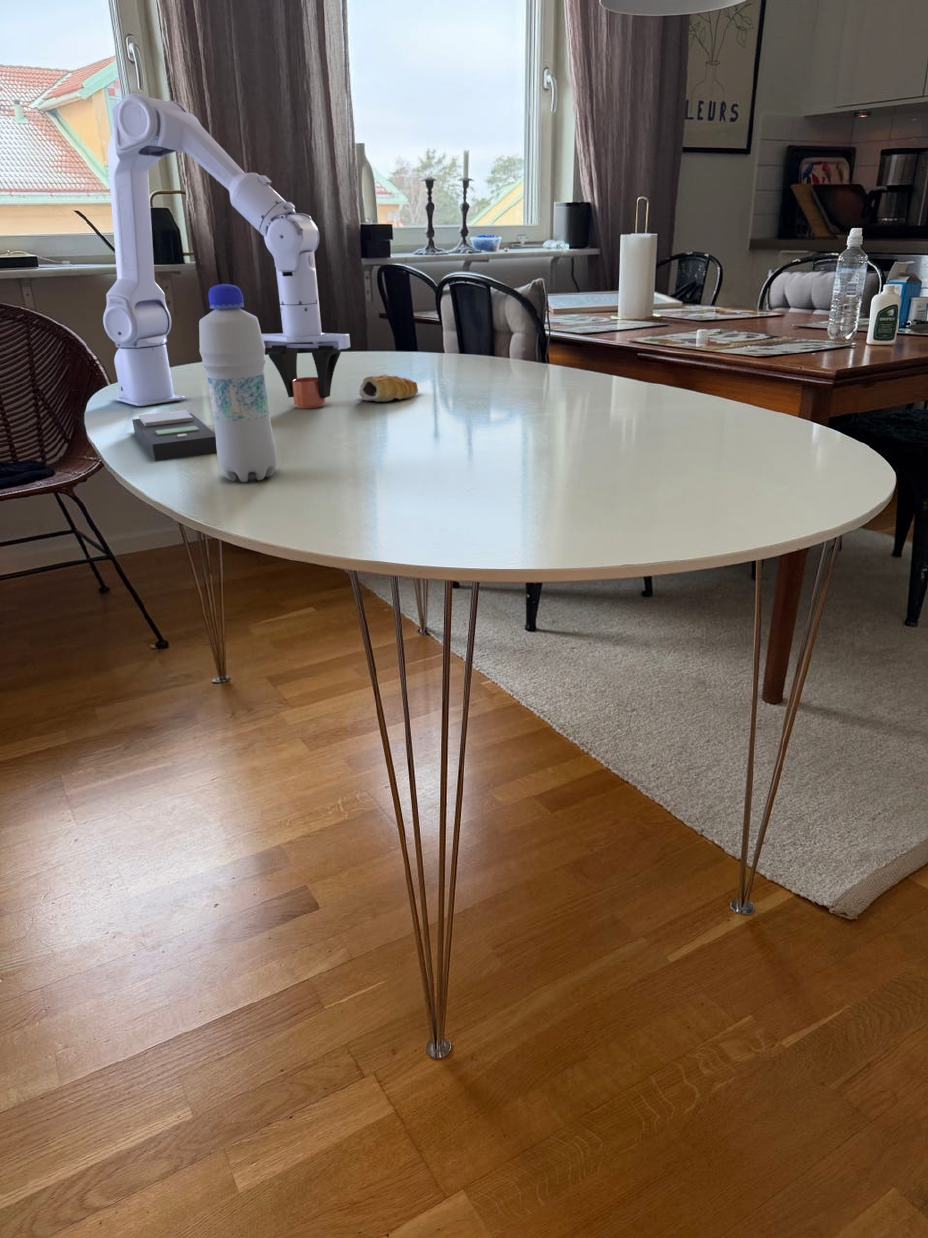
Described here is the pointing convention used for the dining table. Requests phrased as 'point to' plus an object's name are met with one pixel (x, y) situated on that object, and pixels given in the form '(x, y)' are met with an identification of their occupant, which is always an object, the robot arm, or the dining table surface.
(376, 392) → the pastry
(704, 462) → the dining table surface
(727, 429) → the dining table surface
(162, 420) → the scale
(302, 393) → the copper ridged cylinder
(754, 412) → the dining table surface
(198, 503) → the dining table surface
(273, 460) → the bottle
